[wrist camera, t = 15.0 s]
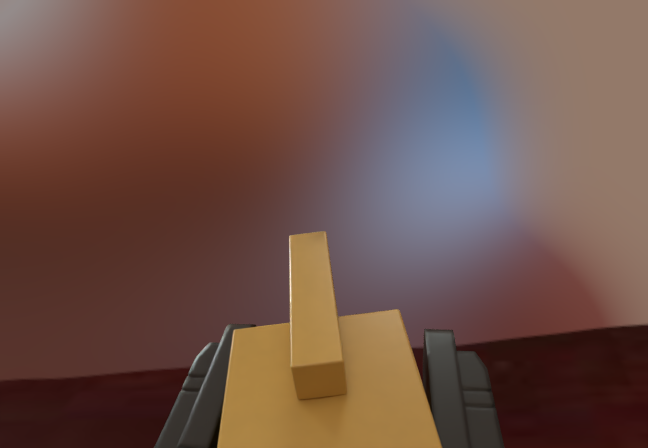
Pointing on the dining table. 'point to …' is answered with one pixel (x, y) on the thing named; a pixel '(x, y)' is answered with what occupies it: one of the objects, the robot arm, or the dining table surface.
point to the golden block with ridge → (324, 372)
